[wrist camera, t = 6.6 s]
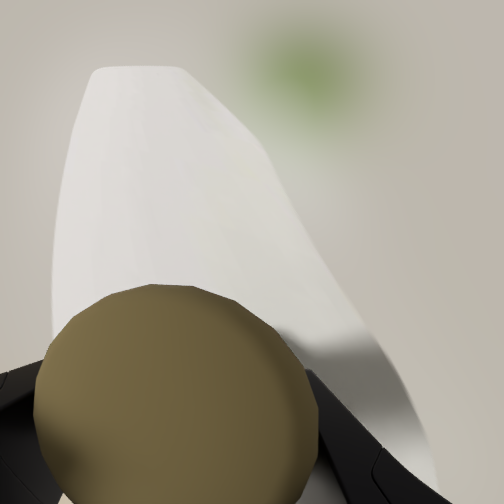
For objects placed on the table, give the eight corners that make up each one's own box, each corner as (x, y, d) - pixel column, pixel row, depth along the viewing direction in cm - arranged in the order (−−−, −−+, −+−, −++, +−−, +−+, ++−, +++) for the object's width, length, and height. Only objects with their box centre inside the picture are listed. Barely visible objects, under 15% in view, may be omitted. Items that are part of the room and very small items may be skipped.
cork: (273, 346, 14) (323, 206, 5) (291, 460, 11) (390, 568, 2) (156, 358, 14) (5, 250, 4) (168, 470, 11) (19, 550, 1)
